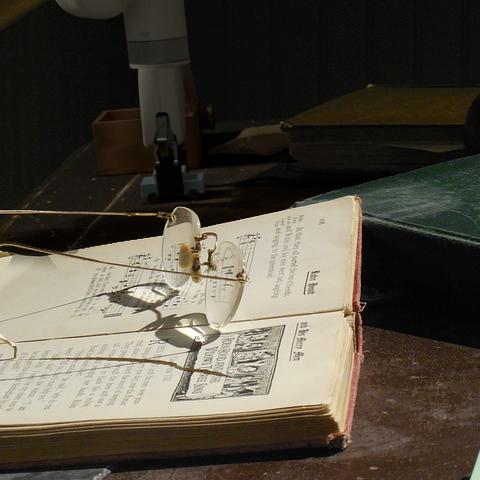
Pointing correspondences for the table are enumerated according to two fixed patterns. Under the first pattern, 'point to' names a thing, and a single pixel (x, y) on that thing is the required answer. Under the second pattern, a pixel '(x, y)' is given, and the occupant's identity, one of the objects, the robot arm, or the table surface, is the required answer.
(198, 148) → the chest
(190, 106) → the lid
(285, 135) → the stone
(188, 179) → the car
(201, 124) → the camera
